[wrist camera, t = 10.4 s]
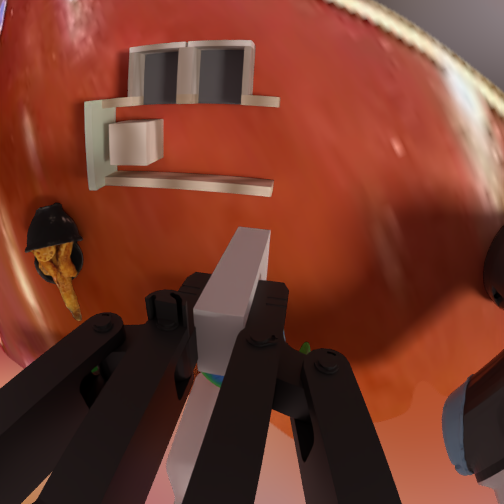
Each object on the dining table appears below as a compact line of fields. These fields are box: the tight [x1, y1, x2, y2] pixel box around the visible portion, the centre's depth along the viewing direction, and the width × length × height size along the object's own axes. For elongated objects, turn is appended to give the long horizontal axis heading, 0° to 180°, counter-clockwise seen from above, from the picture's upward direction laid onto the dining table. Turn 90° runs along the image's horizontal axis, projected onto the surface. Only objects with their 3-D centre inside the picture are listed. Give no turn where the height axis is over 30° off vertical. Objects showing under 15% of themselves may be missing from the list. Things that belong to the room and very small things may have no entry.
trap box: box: [84, 40, 280, 197], centre depth 29 cm, size 20×16×5 cm
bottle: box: [166, 372, 220, 504], centre depth 37 cm, size 8×8×30 cm
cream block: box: [109, 119, 163, 166], centre depth 31 cm, size 4×4×4 cm
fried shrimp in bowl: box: [25, 203, 83, 321], centre depth 38 cm, size 9×11×18 cm
